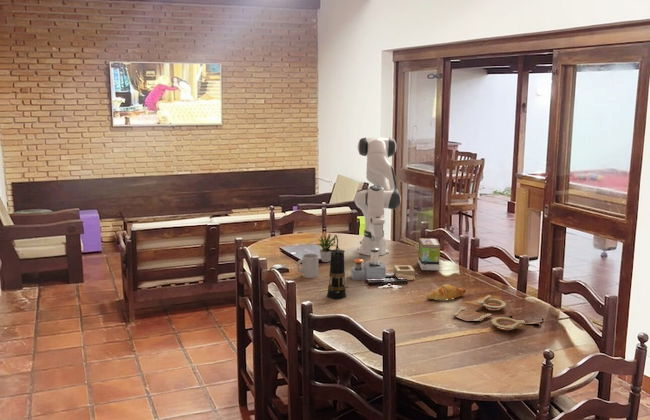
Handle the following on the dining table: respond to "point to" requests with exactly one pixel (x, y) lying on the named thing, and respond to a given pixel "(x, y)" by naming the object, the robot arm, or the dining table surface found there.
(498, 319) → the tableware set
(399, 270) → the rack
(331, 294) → the lantern
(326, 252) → the house plant
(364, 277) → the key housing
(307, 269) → the mug
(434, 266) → the tea box
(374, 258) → the banded metal cylinder
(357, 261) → the orange rounded piece
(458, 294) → the croissant
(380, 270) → the socket block
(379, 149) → the robot arm
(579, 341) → the dining table surface
